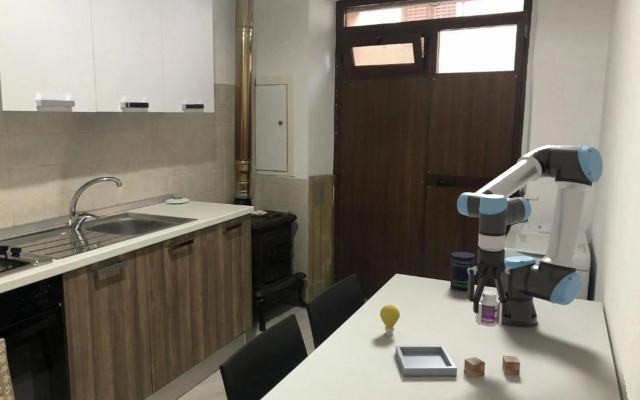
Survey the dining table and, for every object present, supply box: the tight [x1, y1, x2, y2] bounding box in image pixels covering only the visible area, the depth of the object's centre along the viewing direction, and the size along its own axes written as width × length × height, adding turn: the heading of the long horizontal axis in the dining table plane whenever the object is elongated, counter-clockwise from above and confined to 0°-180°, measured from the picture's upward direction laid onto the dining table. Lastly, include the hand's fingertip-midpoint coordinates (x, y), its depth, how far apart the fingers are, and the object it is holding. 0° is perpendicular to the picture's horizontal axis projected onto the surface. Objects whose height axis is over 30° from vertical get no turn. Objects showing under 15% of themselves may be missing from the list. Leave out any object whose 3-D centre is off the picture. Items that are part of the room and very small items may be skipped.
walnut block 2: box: [501, 354, 521, 376], centre depth 150 cm, size 4×4×4 cm
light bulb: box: [379, 304, 401, 335], centre depth 177 cm, size 7×7×10 cm
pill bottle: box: [480, 290, 498, 328], centre depth 155 cm, size 5×5×10 cm
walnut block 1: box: [463, 356, 486, 379], centre depth 149 cm, size 4×4×4 cm
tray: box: [395, 344, 458, 378], centre depth 155 cm, size 15×15×2 cm
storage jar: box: [449, 251, 476, 292], centre depth 225 cm, size 10×10×15 cm
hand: (488, 322), depth 156 cm, fingers closed on pill bottle, 5 cm apart
